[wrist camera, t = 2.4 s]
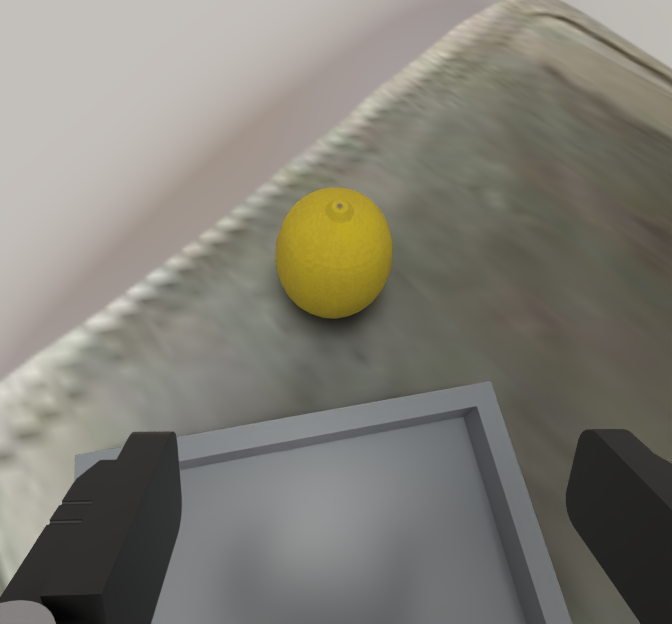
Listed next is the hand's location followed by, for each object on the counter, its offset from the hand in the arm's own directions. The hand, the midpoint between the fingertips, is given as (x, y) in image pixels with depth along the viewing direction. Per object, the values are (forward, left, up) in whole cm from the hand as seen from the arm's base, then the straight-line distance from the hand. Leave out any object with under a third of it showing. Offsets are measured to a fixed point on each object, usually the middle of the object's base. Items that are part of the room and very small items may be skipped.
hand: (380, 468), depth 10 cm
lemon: (-2, -11, -14) cm, 18 cm away
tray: (+1, +3, -14) cm, 15 cm away
